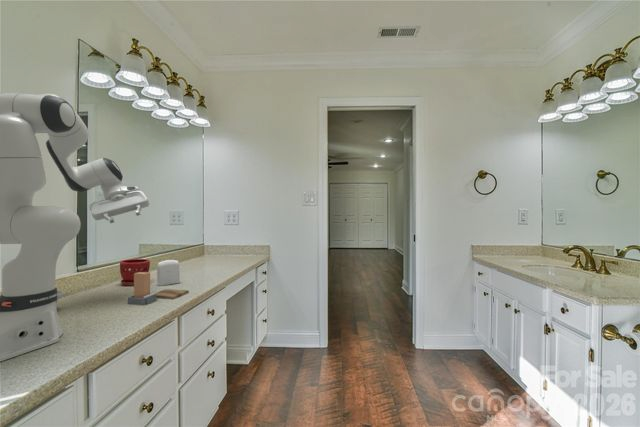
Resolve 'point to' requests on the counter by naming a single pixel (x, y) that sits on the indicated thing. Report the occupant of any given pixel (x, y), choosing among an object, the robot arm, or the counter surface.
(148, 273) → the tan rectangular prism
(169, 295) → the pad
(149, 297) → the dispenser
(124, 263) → the plant pot
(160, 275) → the photo printer
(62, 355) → the counter surface
